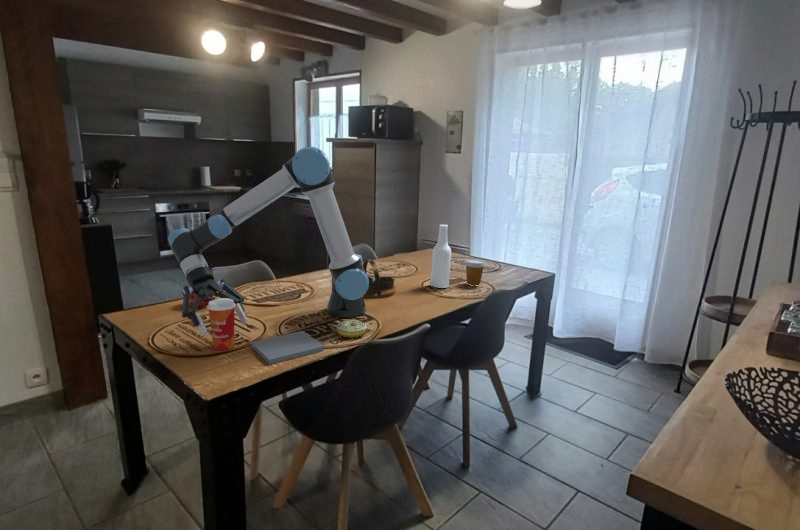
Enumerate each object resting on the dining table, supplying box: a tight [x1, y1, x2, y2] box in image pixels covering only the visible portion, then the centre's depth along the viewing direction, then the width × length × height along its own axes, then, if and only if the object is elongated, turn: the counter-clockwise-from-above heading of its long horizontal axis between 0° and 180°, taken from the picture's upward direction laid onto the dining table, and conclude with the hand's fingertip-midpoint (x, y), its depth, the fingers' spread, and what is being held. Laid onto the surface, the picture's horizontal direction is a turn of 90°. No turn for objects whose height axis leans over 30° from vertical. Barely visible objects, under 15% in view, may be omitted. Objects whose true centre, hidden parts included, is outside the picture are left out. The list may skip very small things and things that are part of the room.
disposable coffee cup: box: [464, 258, 486, 285], centre depth 223 cm, size 10×10×12 cm
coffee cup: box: [206, 297, 236, 351], centre depth 142 cm, size 8×8×15 cm
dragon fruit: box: [189, 291, 216, 309], centre depth 178 cm, size 8×8×12 cm
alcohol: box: [430, 224, 452, 289], centre depth 215 cm, size 9×9×30 cm
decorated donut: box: [335, 319, 368, 339], centre depth 158 cm, size 10×11×4 cm
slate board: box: [250, 330, 325, 365], centre depth 144 cm, size 18×15×2 cm
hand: (225, 327), depth 141 cm, fingers open, 13 cm apart
